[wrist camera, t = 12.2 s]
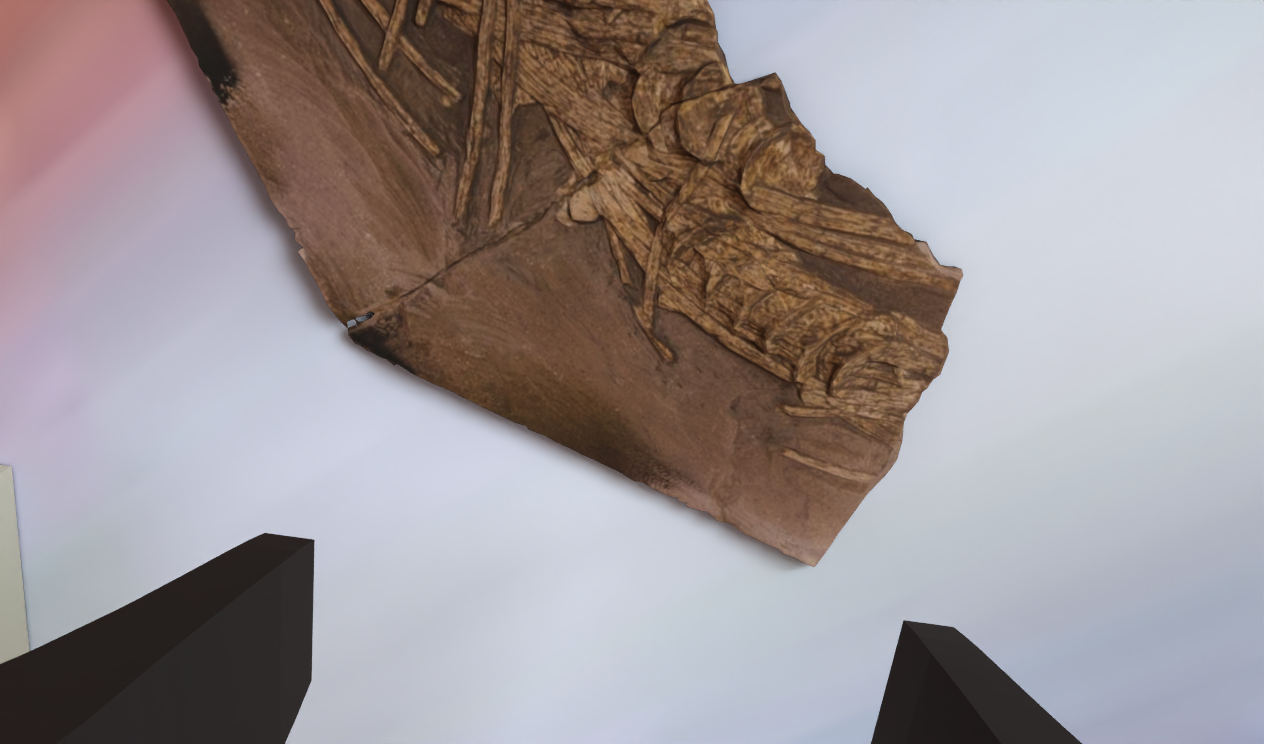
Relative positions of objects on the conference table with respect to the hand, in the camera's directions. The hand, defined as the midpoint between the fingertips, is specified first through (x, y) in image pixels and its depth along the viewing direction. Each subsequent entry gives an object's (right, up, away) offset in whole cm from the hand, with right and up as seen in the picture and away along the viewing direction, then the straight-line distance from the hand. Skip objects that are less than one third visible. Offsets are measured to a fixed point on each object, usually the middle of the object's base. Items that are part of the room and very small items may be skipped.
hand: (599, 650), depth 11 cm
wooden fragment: (-3, +9, +7) cm, 12 cm away
